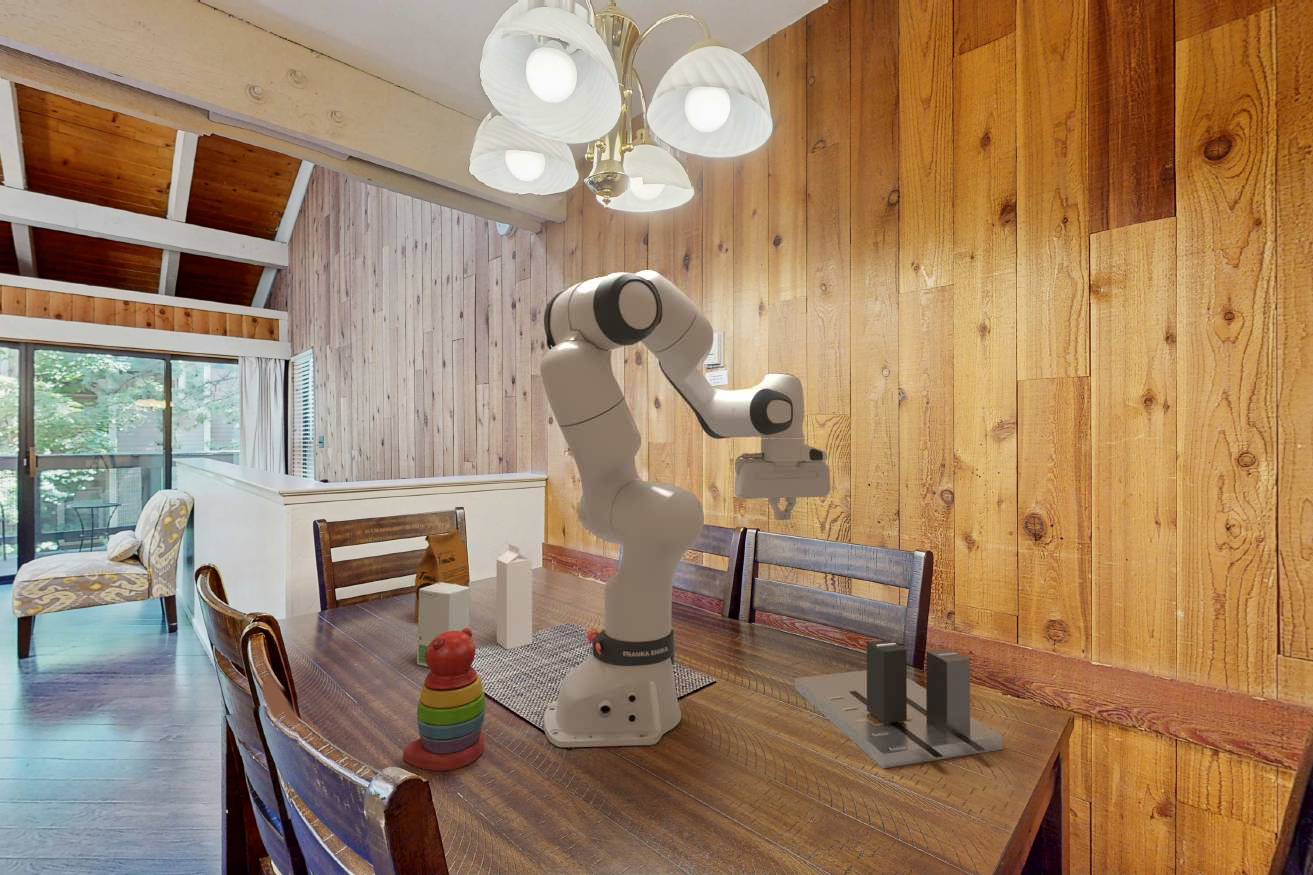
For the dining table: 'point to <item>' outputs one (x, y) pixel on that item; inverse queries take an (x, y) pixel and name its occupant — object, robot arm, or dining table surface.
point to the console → (931, 714)
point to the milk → (514, 599)
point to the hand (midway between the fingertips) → (782, 519)
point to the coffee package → (442, 563)
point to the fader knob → (887, 681)
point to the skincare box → (441, 613)
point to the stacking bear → (449, 706)
